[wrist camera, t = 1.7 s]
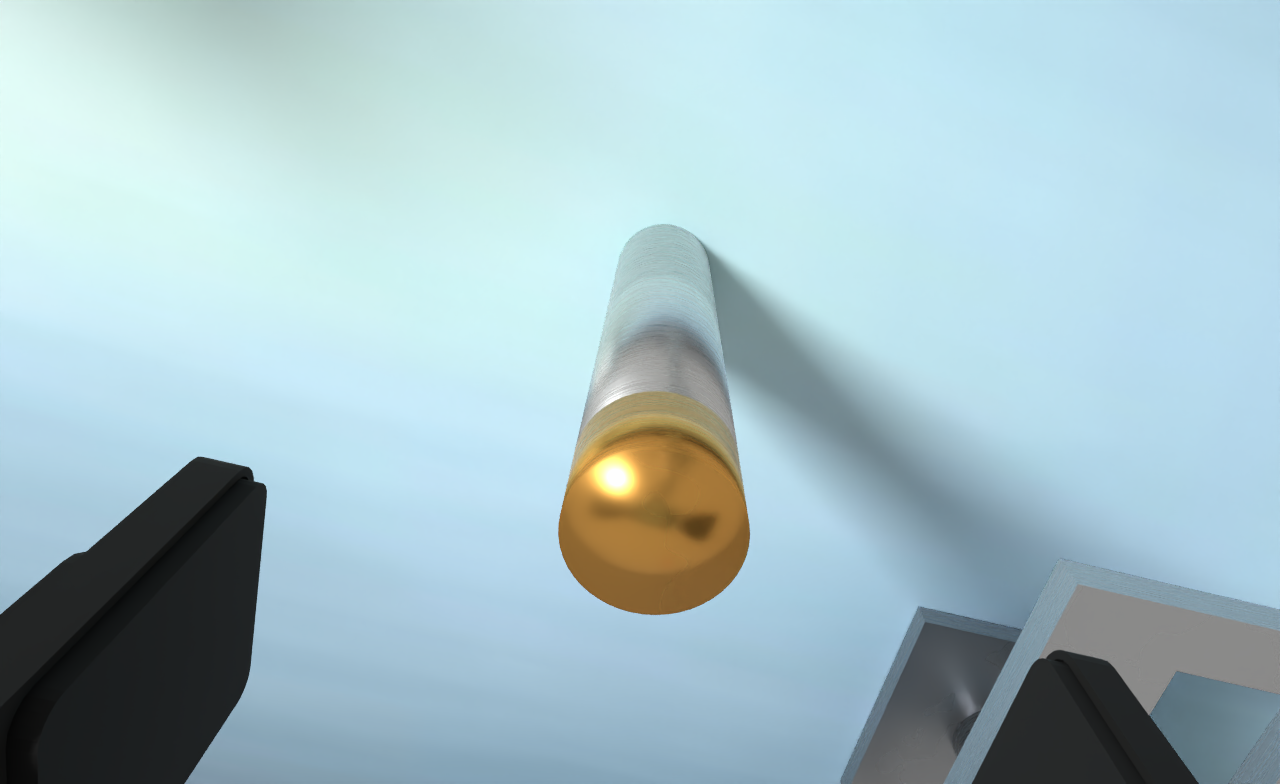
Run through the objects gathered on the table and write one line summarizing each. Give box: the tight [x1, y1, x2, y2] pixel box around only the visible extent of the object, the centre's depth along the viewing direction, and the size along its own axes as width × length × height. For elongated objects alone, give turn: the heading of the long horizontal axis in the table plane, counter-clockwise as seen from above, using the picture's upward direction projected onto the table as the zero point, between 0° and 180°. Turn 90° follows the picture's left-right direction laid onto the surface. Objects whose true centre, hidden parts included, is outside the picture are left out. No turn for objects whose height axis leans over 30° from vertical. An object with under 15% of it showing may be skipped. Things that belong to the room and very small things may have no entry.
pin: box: [558, 224, 750, 615], centre depth 18 cm, size 3×3×14 cm
